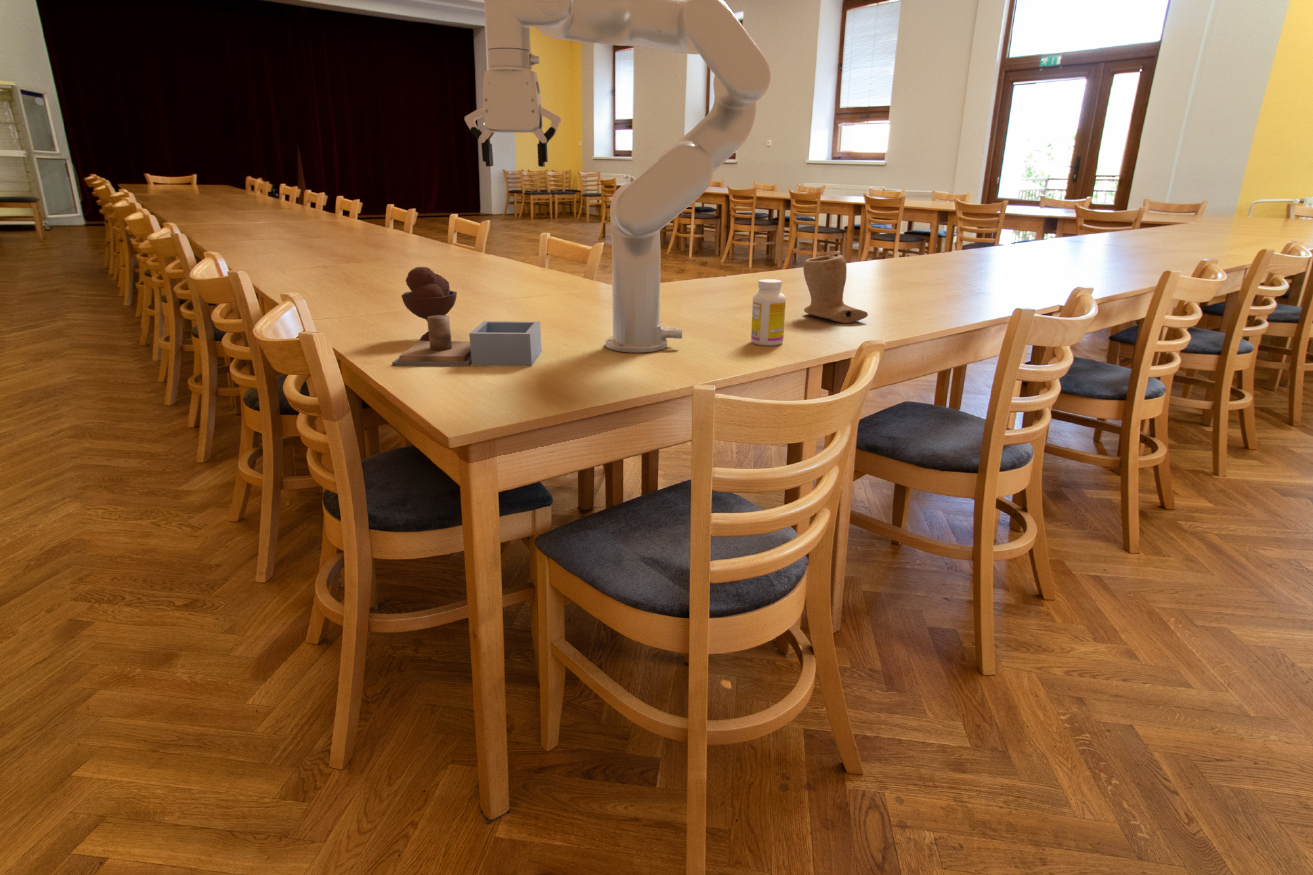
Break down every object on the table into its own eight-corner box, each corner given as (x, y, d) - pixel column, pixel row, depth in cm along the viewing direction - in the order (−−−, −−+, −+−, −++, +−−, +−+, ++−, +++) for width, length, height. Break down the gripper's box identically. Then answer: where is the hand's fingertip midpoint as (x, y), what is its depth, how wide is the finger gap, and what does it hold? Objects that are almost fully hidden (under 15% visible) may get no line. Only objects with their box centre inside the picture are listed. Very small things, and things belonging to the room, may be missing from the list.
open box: (541, 351, 146) (540, 321, 144) (531, 366, 136) (529, 334, 134) (486, 351, 146) (483, 321, 144) (471, 365, 136) (469, 333, 134)
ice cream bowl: (446, 345, 150) (439, 270, 145) (396, 342, 152) (387, 268, 147) (469, 334, 160) (463, 264, 155) (422, 332, 162) (414, 262, 157)
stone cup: (790, 314, 183) (795, 252, 178) (831, 311, 187) (837, 250, 182) (825, 327, 170) (830, 260, 164) (868, 323, 174) (875, 258, 168)
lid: (480, 346, 147) (477, 311, 145) (464, 361, 136) (461, 324, 134) (420, 345, 147) (416, 310, 145) (399, 361, 136) (395, 323, 134)
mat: (486, 348, 148) (486, 345, 148) (468, 366, 135) (468, 363, 135) (417, 347, 149) (416, 344, 148) (392, 365, 136) (392, 362, 135)
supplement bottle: (786, 341, 156) (791, 279, 151) (777, 348, 150) (782, 284, 145) (756, 338, 158) (759, 277, 154) (746, 344, 153) (749, 281, 148)
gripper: (561, 65, 134) (565, 166, 140) (466, 65, 134) (474, 166, 140) (555, 60, 127) (559, 167, 133) (455, 60, 127) (463, 166, 133)
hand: (515, 166), depth 136 cm, fingers open, 9 cm apart
